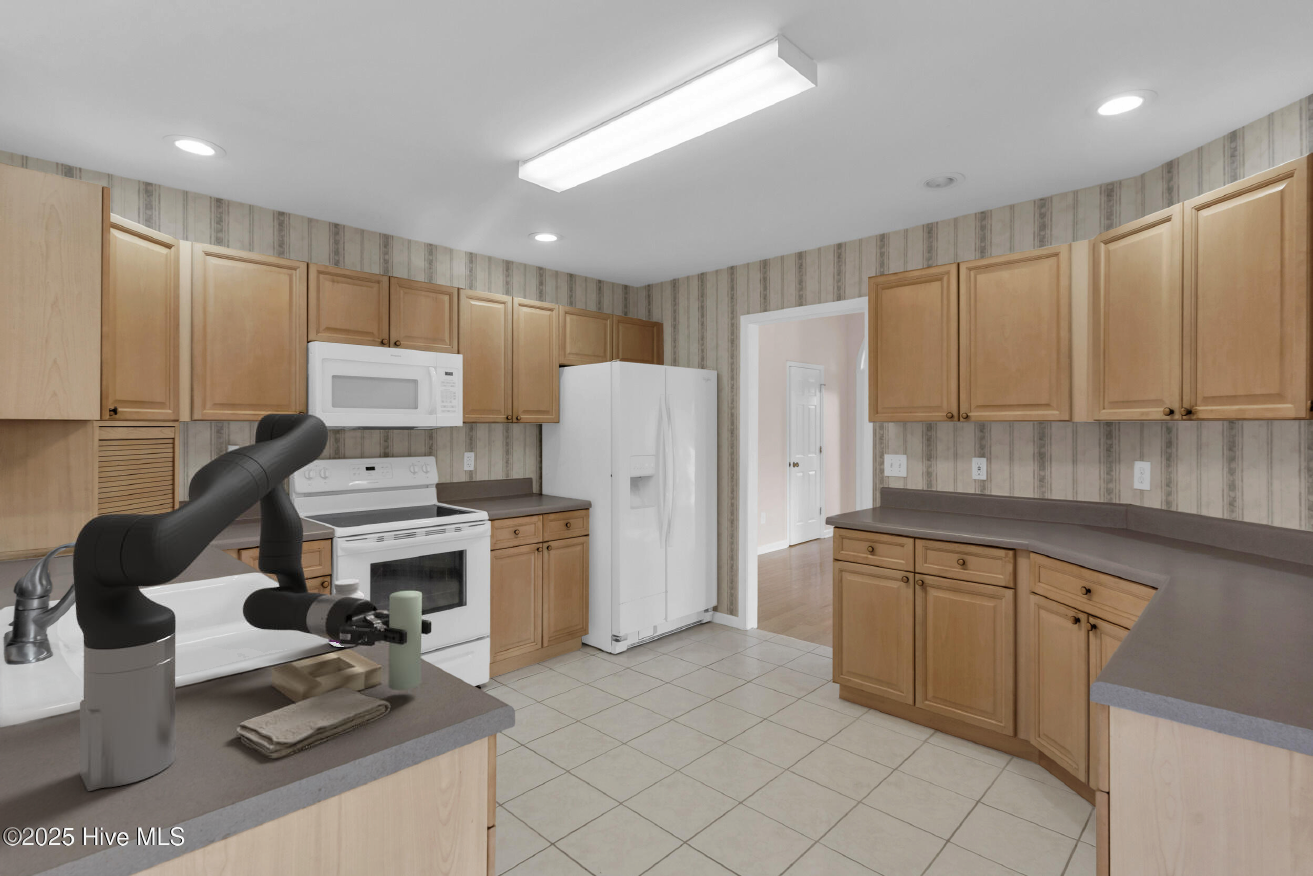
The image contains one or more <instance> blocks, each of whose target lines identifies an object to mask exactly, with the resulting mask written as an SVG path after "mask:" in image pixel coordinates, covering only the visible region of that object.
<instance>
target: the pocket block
mask: <svg viewBox="0 0 1313 876" xmlns="http://www.w3.org/2000/svg"><path fill="white" fill-rule="evenodd" d="M382 675H383V674H382V665H380V664H377V663H376V662H374V661H372V660H371V659H369V658H367V657H365V656H362V655H361V654H360V653H357V652H355V651H354V650H351V649H349V648H346V649H345V648H344V649H343V650H337V651H334V652H331V653H326V654H322V655H318V656H313V657H310V658H306V659H302V660H298V661H293V662H290V663H285V664H282V665H278V666H274V667H271V686H272V687H274V688H275V689H276V690H278V691H279V692H280V691H281V693H282V694H283V695H284V694H285V695H284V696H286V697H287V698H288V699H290V700H291V701H293V702H294V704H295V703H298V702H301V701H303V700H305V699H309V698H311V697H315V696H320V695H323V694H325V693H328V692H330V691H334V690H336V689H340V688H346V689H351V690H354V691H356V692H358V691H362V690H365V689H368V688H371V687H375V686H377V685H381V684H382V679H383V678H382Z"/></svg>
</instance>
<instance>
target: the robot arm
mask: <svg viewBox="0 0 1313 876" xmlns="http://www.w3.org/2000/svg"><path fill="white" fill-rule="evenodd" d="M328 440H329V430H328V427H327V425H326V423H325V422H324V420H323V419H321V418H320V417H319V416H316V415H313V414H309V413H268V414H265V415H264V416H262V417H261V418H260V420H259V421H258V423H257V425H256V429H255V436H254V443H252V444H248V445H244V446H241V447H238V448H235V449H232V450H229V451H226V452H225V453H223V454H221V455H219V456H217V457H216V458H214V459H212V460H211V461H210V462H208V463H206V464H204V465H203V466H202V467H200V468H199V469H198V470H197V471H196V472H195V473H194V475H192V478H191V480H190V482H189V486H188V494H187V497H188V501H187V502H185V503H184V504H183V505H181V506H179V507H178V508H176V509H174V510H171V511H168V512H164V513H158V514H157V513H155V514H152V513H150V514H149V513H142V514H141V513H140V514H139V513H112V514H111V513H107V514H102V515H99V516H96V517H93V518H91V520H89V521H88V522H87V523H86V524H84V526H83V527H82V528H81V530H80V532H79V533H78V535H77V537H76V540H75V543H74V548H73V554H72V572H73V573H72V576H73V584H74V585H73V587H74V588H73V589H74V600H75V601H74V602H75V617H76V622H77V625H78V626H79V628H80V630H81V632H82V634H83V635H82V637H83V699H81V700H80V702H79V775H80V777H81V779H82V782H83V783H84V785H85V787H86V790H87V792H91V791H95V790H98V789H102V788H113V787H118V786H125V785H128V784H133V783H136V782H139V781H142V780H145V779H147V778H150V777H152V776H155V775H157V774H159V773H161V772H163V771H164V770H165V769H167V768H168V767H170V766H171V765H172V763H174V761H175V759H176V614H175V612H174V610H173V609H171V608H170V607H167V606H165V605H162V604H161V603H158V602H155V601H154V600H152V599H150V598H149V597H147V596H146V595H145V594H144V593H143V591H141V589H140V587H154V586H155V587H156V586H160V585H164V584H167V583H170V582H171V581H173V580H175V579H176V578H177V577H179V576H180V575H182V574H183V572H185V571H186V570H187V569H188V567H190V566H191V565H192V564H193V563H194V562H195V560H197V558H198V557H199V556H200V555H201V554H202V553H203V552H204V550H205V549H206V548H207V547H208V546H210V544H211V542H213V541H214V539H216V538H217V537H218V536H219V535H220V534H221V533H222V532H223V531H224V530H225V529H227V528H228V527H229V526H230V525H231V524H232V523H233V522H234V521H236V520H237V519H238V518H240V516H241V515H243V514H244V513H245V512H247V511H249V510H250V509H251V508H252V507H254V506H255V505H256V504H257V503H258V502H259V506H260V507H259V508H260V509H259V510H260V534H259V547H258V559H257V560H258V561H257V567H258V570H259V571H260V572H261V573H263V574H266V575H274V576H275V577H276V579H277V583H278V586H274V587H272V586H271V587H264V588H260V589H257V590H255V591H253V592H251V593H250V594H249V595H248V596H247V597H246V599H245V601H244V602H243V605H242V615H243V618H244V619H245V621H246V622H247V623H248V624H249V625H251V627H253V628H256V629H259V630H265V631H266V630H267V631H296V632H300V633H305V634H309V635H314V636H318V637H320V638H322V639H326V640H329V639H330V640H335V641H340V644H350V645H355V646H362V647H365V646H366V647H373V646H374V645H376V642H377V643H378V644H385V643H389V642H390V643H395V644H400V645H403V644H405V643H407V631H406V630H402V629H396V628H391V627H389V613H390V611H389V610H387V609H378V608H377V606H376V605H375V603H374V602H372V601H371V600H368V599H366V598H364V599H359V598H353V597H347V596H341V595H333V594H327V593H320V592H309V590H308V585H307V581H306V577H305V571H304V568H303V564H302V562H303V561H302V556H303V555H302V554H303V541H304V525H303V521H302V519H301V515H300V513H299V512H298V511H297V509H296V506H295V505H294V503H293V502H292V500H291V498H290V496H289V494H288V492H287V490H286V487H285V484H284V482H285V480H286V479H287V478H289V477H290V476H292V475H293V474H295V473H297V472H298V471H300V470H301V469H303V468H305V467H306V466H308V465H310V464H312V463H313V462H315V461H317V459H319V458H320V457H321V456H322V454H323V453H324V451H325V450H326V447H327V444H328ZM431 633H432V621H431V620H428V619H423V618H422V623H421V635H430V634H431Z"/></svg>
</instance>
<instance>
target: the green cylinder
mask: <svg viewBox="0 0 1313 876" xmlns="http://www.w3.org/2000/svg"><path fill="white" fill-rule="evenodd" d="M422 605H423V593H422V592H421V591H417V590H400V591H396V592H393V593H391V594H389V612H390V613H389V627H391V628H396V629H402V630H406V631H407V643H405V644H403V645H400V644H395V643H390V642H388V688H389V689H391V690H396V691H405V690H410V689H414V688H416V687H419V685H421V682H422V679H421V677H422V675H421V673H422V634H421V623H422V619H423V618H422V617H423V615H422V612H423V611H422V609H423V607H422Z"/></svg>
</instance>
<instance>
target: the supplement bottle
mask: <svg viewBox="0 0 1313 876" xmlns="http://www.w3.org/2000/svg"><path fill="white" fill-rule="evenodd" d="M333 584H334V587H333V588H334V592H335V593H333V594H332V595H341V596H347V597H353V598H359V599H365V595H364V593H363V592H361V591H360V590H359V588H360V585H361V584H360V580H359V579H357V578H346V579H339V580H336V581H335V582H334V583H333ZM329 642H336V643H339V644H340V641H335V640H330V639H328V643H329ZM340 645H341V646H344V647H345V648H350V647H351V648H352V647H355V646H356V645H350V644H340Z"/></svg>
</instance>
